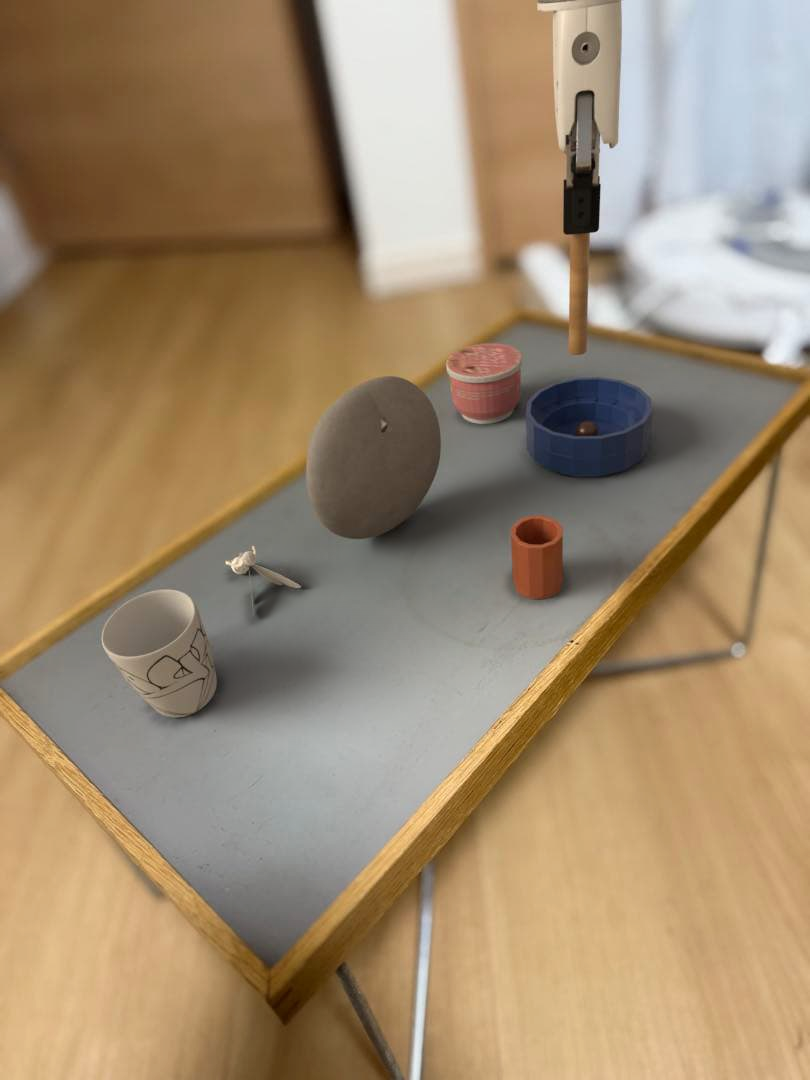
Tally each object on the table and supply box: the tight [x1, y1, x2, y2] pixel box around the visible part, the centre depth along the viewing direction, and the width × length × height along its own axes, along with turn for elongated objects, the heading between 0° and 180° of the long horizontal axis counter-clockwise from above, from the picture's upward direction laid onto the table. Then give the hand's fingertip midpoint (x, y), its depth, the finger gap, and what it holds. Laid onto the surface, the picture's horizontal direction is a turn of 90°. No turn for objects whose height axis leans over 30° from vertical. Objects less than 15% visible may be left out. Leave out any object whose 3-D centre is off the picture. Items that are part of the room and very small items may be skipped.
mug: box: [101, 588, 218, 719], centre depth 66 cm, size 11×8×10 cm
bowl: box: [525, 376, 654, 477], centre depth 90 cm, size 15×15×6 cm
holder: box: [510, 515, 564, 600], centre depth 71 cm, size 5×5×7 cm
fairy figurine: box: [225, 545, 302, 615], centre depth 79 cm, size 6×7×7 cm
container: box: [445, 342, 523, 425], centre depth 100 cm, size 10×10×8 cm
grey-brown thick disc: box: [305, 375, 442, 540], centre depth 78 cm, size 18×7×19 cm, turn 132°
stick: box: [568, 174, 591, 356], centre depth 68 cm, size 2×2×18 cm
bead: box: [575, 421, 599, 436], centre depth 90 cm, size 3×3×3 cm
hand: (580, 226), depth 66 cm, fingers closed on stick, 1 cm apart
